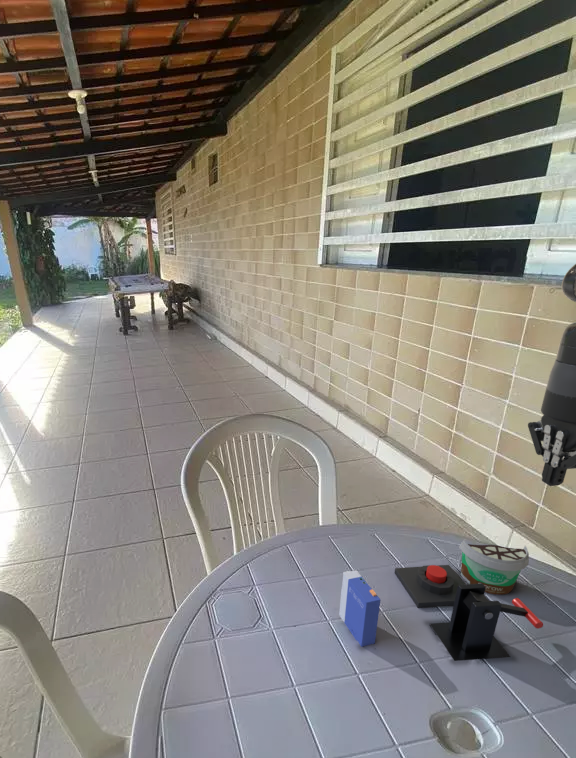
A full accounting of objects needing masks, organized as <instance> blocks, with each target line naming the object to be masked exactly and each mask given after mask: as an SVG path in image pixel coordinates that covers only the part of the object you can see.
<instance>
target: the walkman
mask: <svg viewBox="0 0 576 758" xmlns="http://www.w3.org/2000/svg"><path fill="white" fill-rule="evenodd" d="M342 573H343V574H342V583H341V589H340V601H339V611H338V616H339V617H340V618H341V620H342V621H343V623H344V625H345V626H346V628H347V629H348V631H349V632H350V633H351V635H352V637H353V638H354V640H355V641H356V642H358V643H359V645H360V647H361V648H362V647H365V646H366V647H367V646H370V645H374V644H376V637H377V629H378V623H379V616H380V615H379V614H380V608H381V598H380V597H379V596H378V595H377V593H376V592H375V590H374V589H373V588H372V587H371V586H370V585H369V583H367V581H366V580H365V579H364V578H363V576H362V575H361V574H360V572H359V571H358V570H356V569H355V570H351V571H350V570H347V571H343V572H342Z"/></svg>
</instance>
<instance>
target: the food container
mask: <svg viewBox="0 0 576 758" xmlns="http://www.w3.org/2000/svg"><path fill="white" fill-rule="evenodd" d="M458 548H459V550H460V551H461V566H460V576H461V577H462V580H463V581H465V582H466V584H483V585H484V586H485V587H486V588H485V593H486V594H490V595H496V596H497V595H498V596H501V595H502V596H503V595H508V594H510V593H511V592H512V591H513V589H514V587H515V585H516V582H517V580H518V578H519V576H520V573H521V571H522V570H524V569H526V568H527V566H529V564H530V558H529V557H530V556H529V551H528V547H527V545H524V547H523V548H514V547H506V546H502V545H496V544H470V543H467V542H466V540H465V539H463V541H461V543H460V545H458Z"/></svg>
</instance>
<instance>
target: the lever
mask: <svg viewBox="0 0 576 758" xmlns="http://www.w3.org/2000/svg"><path fill="white" fill-rule="evenodd" d="M485 601H490V600H489V598H488V597H487V596H486V594H485V593H484V594H480V593H475V592H471V591H470V592H469V593H468V595H467V596H466V598H465V599H464V601H463V602H464V603H465V604H466V605H467V607H468V608H469V609H470V610H471V607H472V603H473V602H485ZM500 603H501V605H502V606H501V610H500V613H506V614H510V615H515V616H518V617H519V616H520V617H524V618H525V619H527V621H528V622H529V623H530V624H531V625H532V626H533V627H534V628H535V629H542V628H543V627H544V622H543V621H542V620H540V618H538V616H536V614H535V613H534V612H533V611H532V610H531V609H530V608H529V607H528V606H527V604H525V603H524V602H523V601H522V600H521V599H520V598H519V597H515V598H513V599H512V600H511V604H512V605H511V604H507V603H502V602H500Z"/></svg>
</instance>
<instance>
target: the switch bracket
mask: <svg viewBox="0 0 576 758" xmlns="http://www.w3.org/2000/svg"><path fill="white" fill-rule="evenodd" d="M485 588H486V587H485V586H484V585H483V584H469V583H466V585H458V588H457V592H456V597H455V602H454V606H452V611H451V616H450V619H449V621H448V622H447V621H446V622H433V623H432V622H431V623H428V626H429V627H430V629H431V630H432V632H433V634H434V635H435V636H436V637H438V639H439V640H440V642H441V643H442V644H443V646H444V648H445V649H446V650H447V651H446V652H447V653H448V654H449V656H450V657H451V658H452V660H453V662H459V661H473V660H475V661H476V660H488V659H503V658H504V659H505V658H512V656H511V655H510V654H509V653H508V651H507V650H506V648H504V647H503V646H502V644H501V643H500V642H499V640H498V639H497V638H496V637H495V632H496V629H497V624H498V621H499V618H500V613H501V612H500V610H501V606H502V605H501V603H502V602H501V601H499V600H489V601H485V602H473V603H472V607H471V610H470V609H469V608H468V607H467V605H466V604H465V603H464V602H463V601H464V599H465V598H466V596H467V595H468V593H469V592H470V591H471V592H475V593H480V594H484V595H485V593H486V592H485Z"/></svg>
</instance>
